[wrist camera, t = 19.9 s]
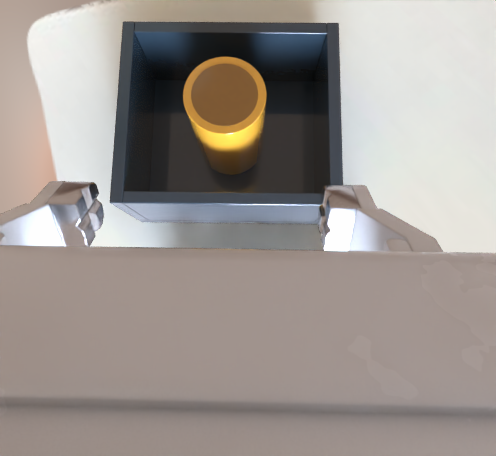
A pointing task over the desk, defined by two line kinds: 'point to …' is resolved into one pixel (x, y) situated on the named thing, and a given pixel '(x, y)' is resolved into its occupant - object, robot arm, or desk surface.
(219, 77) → the cup
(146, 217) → the open rectangular storage bin
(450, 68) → the desk surface
